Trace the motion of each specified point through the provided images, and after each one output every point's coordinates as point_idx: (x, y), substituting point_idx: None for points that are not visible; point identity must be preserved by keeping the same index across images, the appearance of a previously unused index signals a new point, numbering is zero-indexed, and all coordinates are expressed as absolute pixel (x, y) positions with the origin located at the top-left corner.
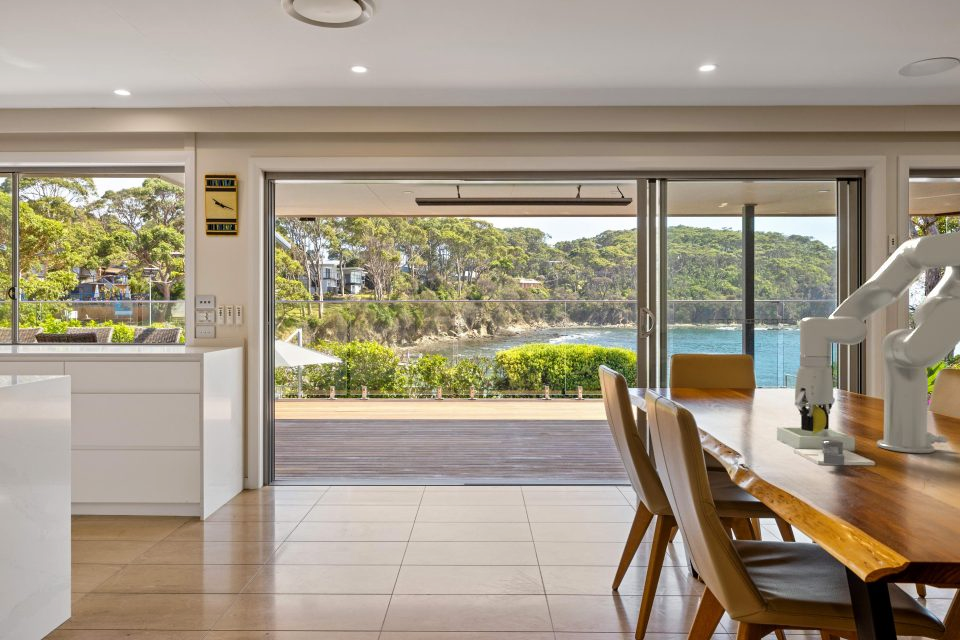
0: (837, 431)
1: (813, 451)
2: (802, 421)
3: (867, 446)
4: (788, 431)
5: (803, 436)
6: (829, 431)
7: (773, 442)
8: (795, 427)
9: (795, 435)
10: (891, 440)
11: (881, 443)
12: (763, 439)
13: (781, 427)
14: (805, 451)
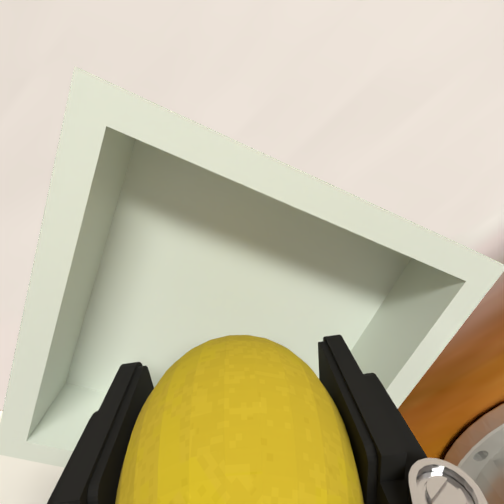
0: (408, 388)
1: (45, 471)
2: (71, 457)
3: (450, 396)
4: (39, 296)
5: (32, 451)
6: (424, 317)
7: (23, 172)
8: (256, 164)
9: (4, 408)
10: (494, 501)
11: (481, 450)
12: (6, 41)
13: (107, 111)
14: (4, 464)
